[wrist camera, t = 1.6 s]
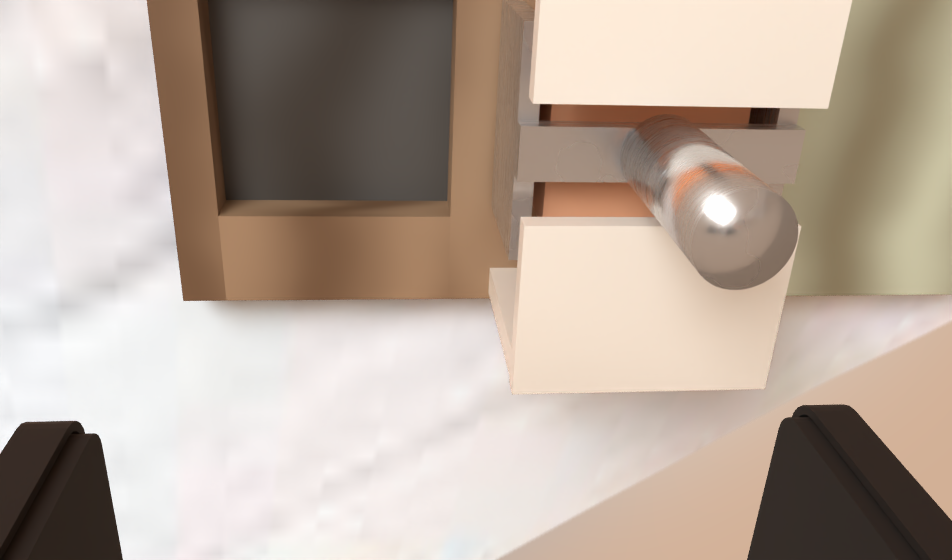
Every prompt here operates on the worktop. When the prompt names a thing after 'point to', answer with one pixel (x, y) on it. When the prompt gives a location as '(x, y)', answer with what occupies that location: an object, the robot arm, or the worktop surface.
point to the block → (612, 195)
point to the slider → (653, 169)
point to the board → (492, 150)
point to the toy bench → (643, 238)
